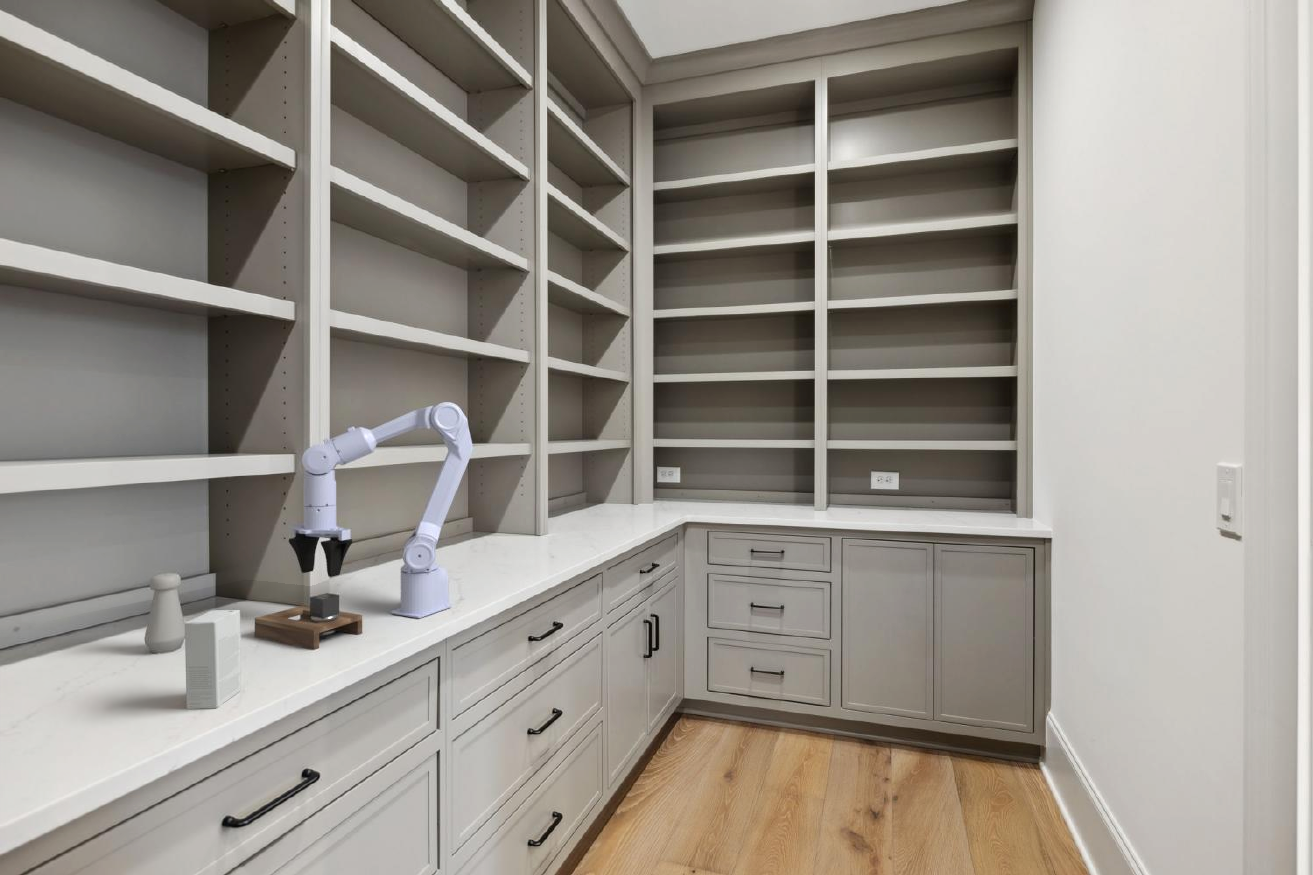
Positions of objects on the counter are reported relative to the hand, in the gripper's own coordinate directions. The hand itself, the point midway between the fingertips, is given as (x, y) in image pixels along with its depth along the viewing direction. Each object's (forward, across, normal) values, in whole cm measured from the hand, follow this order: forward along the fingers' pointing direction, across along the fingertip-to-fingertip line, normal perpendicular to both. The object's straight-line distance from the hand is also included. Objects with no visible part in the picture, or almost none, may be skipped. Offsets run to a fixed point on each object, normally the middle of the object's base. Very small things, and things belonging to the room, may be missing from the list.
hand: (320, 573), depth 128 cm
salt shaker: (+10, -10, -23) cm, 26 cm away
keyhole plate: (+9, +6, -7) cm, 13 cm away
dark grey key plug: (+8, +10, -6) cm, 14 cm away
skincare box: (+10, +19, -32) cm, 38 cm away
